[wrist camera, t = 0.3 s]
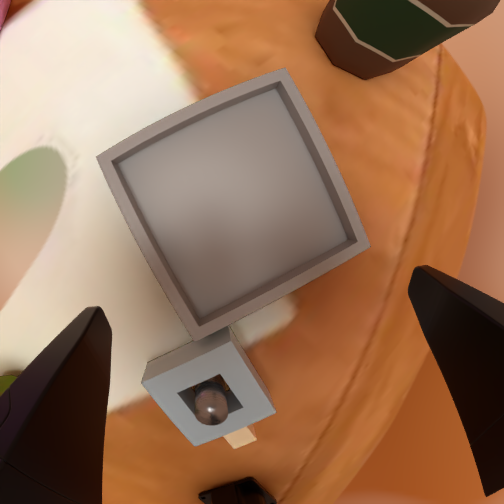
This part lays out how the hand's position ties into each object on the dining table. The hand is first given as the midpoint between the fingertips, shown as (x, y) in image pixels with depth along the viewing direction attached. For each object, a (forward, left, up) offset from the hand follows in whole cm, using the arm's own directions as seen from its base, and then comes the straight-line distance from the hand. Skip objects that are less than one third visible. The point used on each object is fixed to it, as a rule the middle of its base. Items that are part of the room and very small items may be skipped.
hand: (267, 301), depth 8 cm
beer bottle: (+10, -17, -14) cm, 24 cm away
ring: (-9, +6, -13) cm, 17 cm away
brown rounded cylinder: (-9, +6, -13) cm, 17 cm away
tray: (+2, -2, -13) cm, 14 cm away
